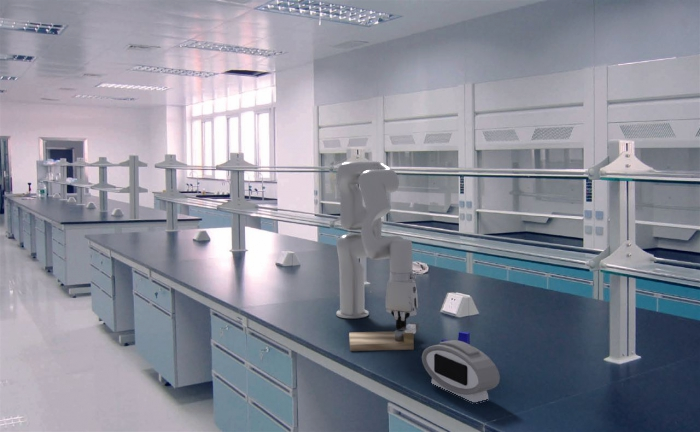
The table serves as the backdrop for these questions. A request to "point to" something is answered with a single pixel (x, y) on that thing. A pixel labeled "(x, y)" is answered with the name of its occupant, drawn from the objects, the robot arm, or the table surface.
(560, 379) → the table surface
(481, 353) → the alarm clock
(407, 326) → the folding leg
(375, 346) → the stool seat
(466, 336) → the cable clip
